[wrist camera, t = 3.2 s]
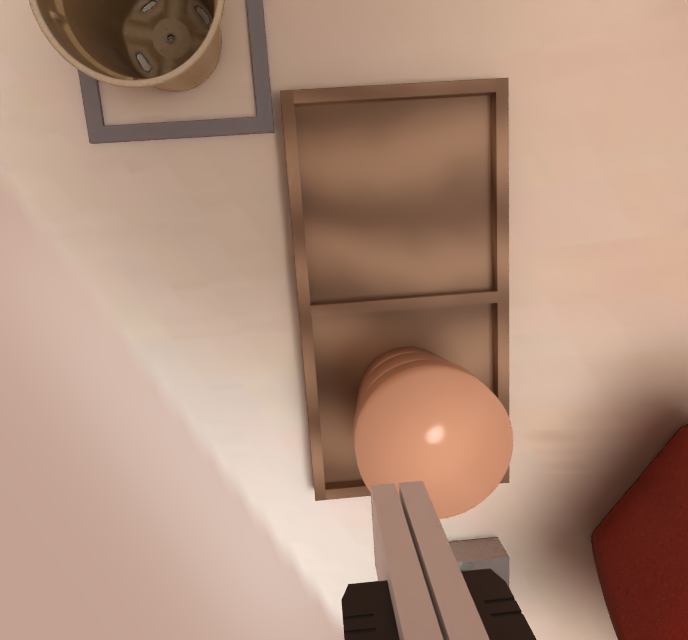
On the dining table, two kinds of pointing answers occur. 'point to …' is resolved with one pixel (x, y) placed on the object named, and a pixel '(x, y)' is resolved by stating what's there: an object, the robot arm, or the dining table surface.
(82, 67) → the flower pot
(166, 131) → the square
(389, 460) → the stacked pebble cairn
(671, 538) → the plant pot
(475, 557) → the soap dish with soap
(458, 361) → the brown divided tray
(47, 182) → the dining table surface
